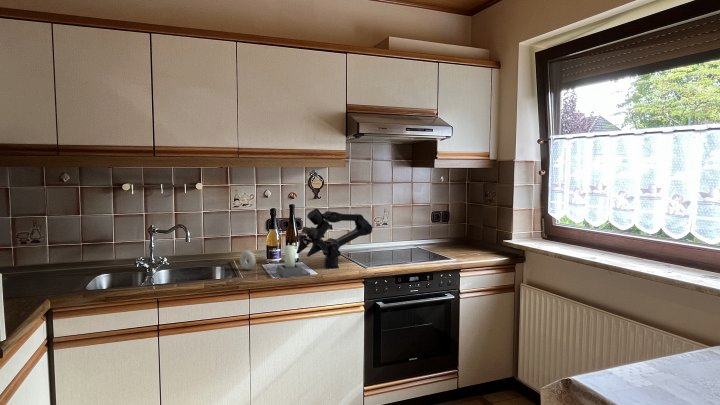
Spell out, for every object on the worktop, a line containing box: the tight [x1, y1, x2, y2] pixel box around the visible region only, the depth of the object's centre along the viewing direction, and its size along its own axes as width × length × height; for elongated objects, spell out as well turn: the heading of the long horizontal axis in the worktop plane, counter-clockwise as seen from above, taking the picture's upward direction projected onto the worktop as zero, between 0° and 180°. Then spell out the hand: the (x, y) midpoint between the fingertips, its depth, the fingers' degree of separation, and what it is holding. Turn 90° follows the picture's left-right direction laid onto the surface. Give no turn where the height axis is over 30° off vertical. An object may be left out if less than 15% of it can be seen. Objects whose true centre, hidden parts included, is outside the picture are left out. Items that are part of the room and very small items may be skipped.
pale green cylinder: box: [284, 244, 296, 269], centre depth 221 cm, size 5×5×13 cm
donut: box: [239, 250, 257, 271], centre depth 229 cm, size 10×4×10 cm, turn 58°
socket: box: [275, 263, 311, 279], centre depth 223 cm, size 14×11×4 cm
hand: (302, 254), depth 226 cm, fingers open, 9 cm apart
